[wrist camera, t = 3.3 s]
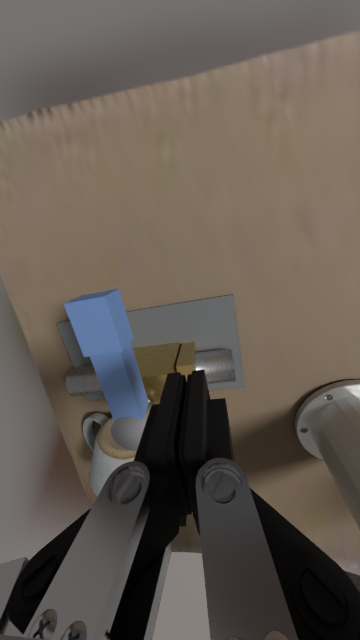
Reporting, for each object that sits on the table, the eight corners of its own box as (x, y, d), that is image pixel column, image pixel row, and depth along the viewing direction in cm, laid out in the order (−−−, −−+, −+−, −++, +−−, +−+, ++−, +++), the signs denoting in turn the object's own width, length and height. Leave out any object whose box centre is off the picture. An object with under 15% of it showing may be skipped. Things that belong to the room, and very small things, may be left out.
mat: (232, 294, 24) (232, 294, 23) (243, 385, 27) (244, 387, 27) (57, 322, 28) (56, 323, 28) (88, 398, 32) (87, 400, 31)
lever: (122, 287, 16) (109, 295, 14) (163, 428, 20) (157, 451, 18) (79, 296, 16) (59, 304, 14) (127, 430, 21) (117, 452, 18)
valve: (228, 335, 25) (237, 377, 17) (234, 376, 27) (244, 430, 19) (76, 355, 29) (28, 396, 21) (90, 390, 31) (50, 439, 23)
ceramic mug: (159, 416, 31) (142, 468, 24) (151, 455, 34) (134, 512, 27) (89, 397, 32) (53, 443, 25) (87, 438, 35) (54, 489, 28)
